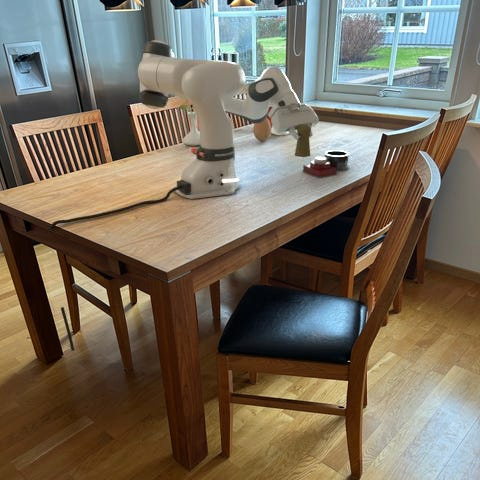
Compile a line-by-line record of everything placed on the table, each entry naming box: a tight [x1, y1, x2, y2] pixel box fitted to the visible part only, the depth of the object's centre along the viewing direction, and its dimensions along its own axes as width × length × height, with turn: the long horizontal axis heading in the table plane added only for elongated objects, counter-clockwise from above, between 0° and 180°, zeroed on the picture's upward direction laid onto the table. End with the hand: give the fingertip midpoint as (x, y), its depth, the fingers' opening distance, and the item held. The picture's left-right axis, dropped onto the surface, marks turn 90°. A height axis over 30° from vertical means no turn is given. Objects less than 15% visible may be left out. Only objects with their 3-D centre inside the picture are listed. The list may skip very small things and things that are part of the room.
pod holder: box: [324, 149, 350, 172], centre depth 188 cm, size 9×9×6 cm
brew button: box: [313, 156, 326, 164], centre depth 182 cm, size 4×4×2 cm
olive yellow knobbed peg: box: [294, 125, 312, 158], centre depth 185 cm, size 6×6×11 cm
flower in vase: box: [176, 96, 201, 147], centre depth 217 cm, size 13×11×25 cm
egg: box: [253, 118, 272, 142], centre depth 225 cm, size 8×8×11 cm
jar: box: [271, 125, 290, 136], centre depth 238 cm, size 9×8×12 cm
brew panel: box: [302, 159, 337, 178], centre depth 183 cm, size 8×10×4 cm
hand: (304, 137), depth 184 cm, fingers closed on olive yellow knobbed peg, 5 cm apart
